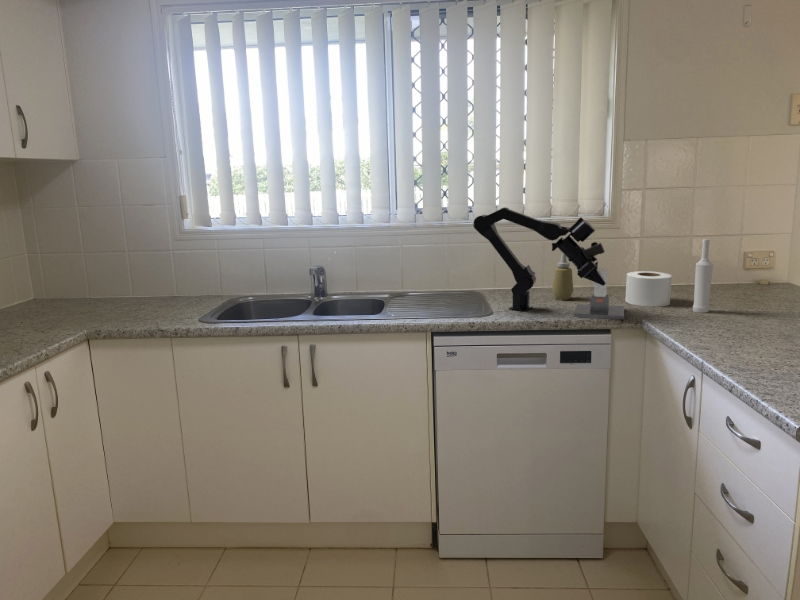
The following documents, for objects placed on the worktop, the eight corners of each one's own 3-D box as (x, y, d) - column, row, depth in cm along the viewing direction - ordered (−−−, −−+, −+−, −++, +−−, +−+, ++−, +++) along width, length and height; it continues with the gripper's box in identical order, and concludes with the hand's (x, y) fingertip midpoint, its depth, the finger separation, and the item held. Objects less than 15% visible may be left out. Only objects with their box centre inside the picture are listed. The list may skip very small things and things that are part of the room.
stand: (573, 316, 198) (574, 299, 197) (577, 307, 213) (577, 291, 212) (623, 319, 193) (624, 301, 192) (623, 309, 208) (624, 292, 206)
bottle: (711, 313, 198) (717, 240, 193) (694, 312, 199) (700, 240, 194) (706, 309, 203) (712, 238, 198) (690, 309, 204) (695, 238, 199)
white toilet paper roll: (679, 303, 214) (681, 274, 212) (649, 308, 208) (650, 279, 205) (645, 296, 228) (647, 269, 226) (616, 301, 221) (617, 273, 219)
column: (593, 300, 201) (594, 270, 199) (593, 298, 205) (595, 268, 202) (605, 301, 199) (607, 270, 197) (606, 298, 203) (607, 268, 201)
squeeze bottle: (568, 301, 222) (569, 255, 219) (548, 299, 227) (549, 254, 223) (576, 298, 229) (577, 252, 225) (556, 296, 233) (557, 251, 230)
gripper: (589, 237, 190) (623, 272, 189) (591, 232, 207) (623, 263, 206) (563, 260, 194) (596, 294, 193) (568, 253, 212) (598, 284, 210)
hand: (604, 283), depth 200 cm, fingers closed on column, 4 cm apart
